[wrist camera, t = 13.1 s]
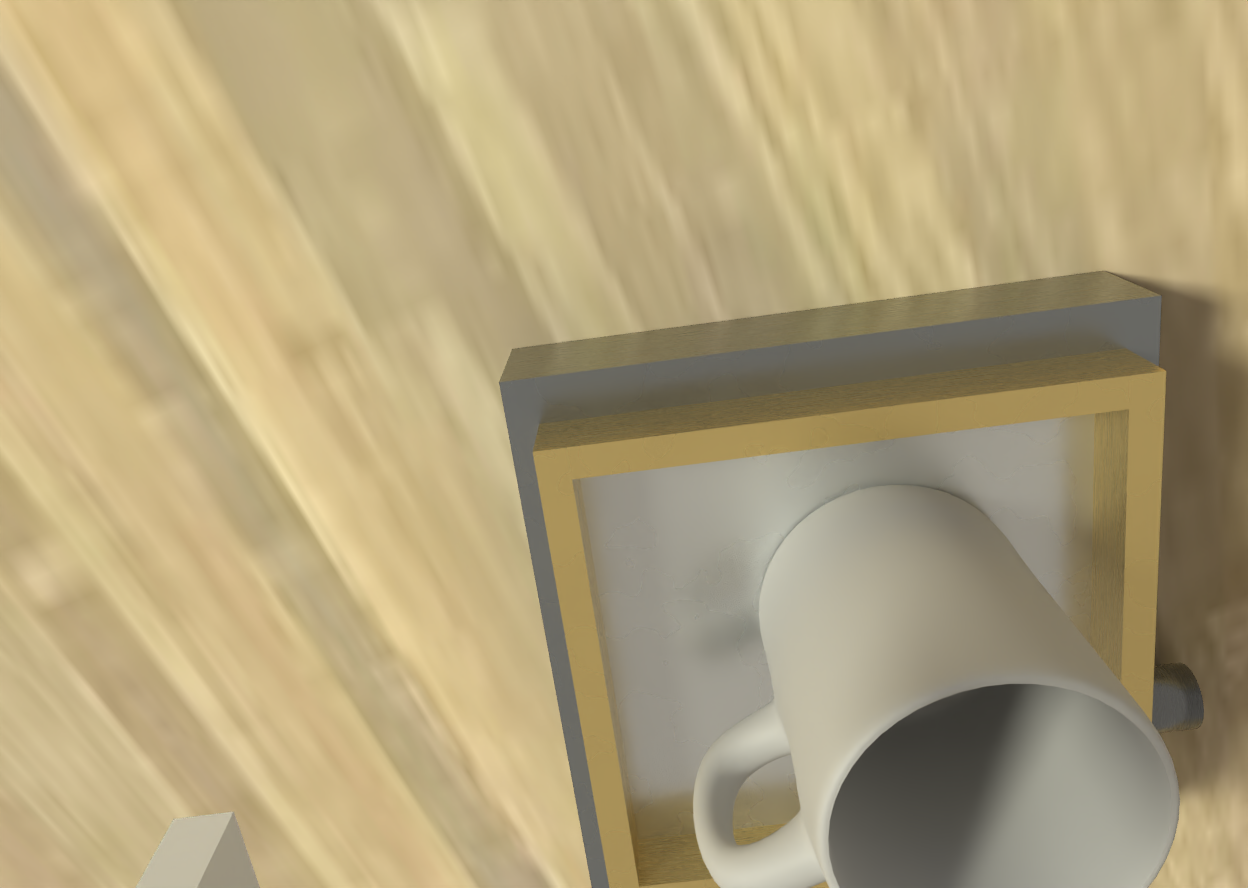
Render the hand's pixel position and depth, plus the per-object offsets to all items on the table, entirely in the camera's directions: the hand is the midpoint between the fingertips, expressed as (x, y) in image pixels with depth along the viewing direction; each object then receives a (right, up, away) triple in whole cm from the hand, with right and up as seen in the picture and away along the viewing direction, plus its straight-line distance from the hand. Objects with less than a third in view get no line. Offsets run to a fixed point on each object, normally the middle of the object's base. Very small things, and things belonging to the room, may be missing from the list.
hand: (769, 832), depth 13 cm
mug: (+5, -1, +22) cm, 23 cm away
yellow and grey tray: (+7, 0, +26) cm, 27 cm away
